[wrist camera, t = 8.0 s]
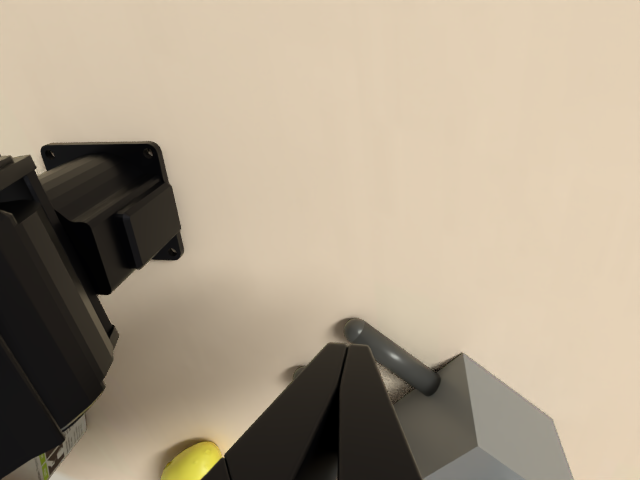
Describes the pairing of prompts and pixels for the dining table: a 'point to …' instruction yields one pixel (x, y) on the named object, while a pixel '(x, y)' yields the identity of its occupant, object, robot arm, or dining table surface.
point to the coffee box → (50, 456)
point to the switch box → (466, 418)
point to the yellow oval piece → (192, 462)
